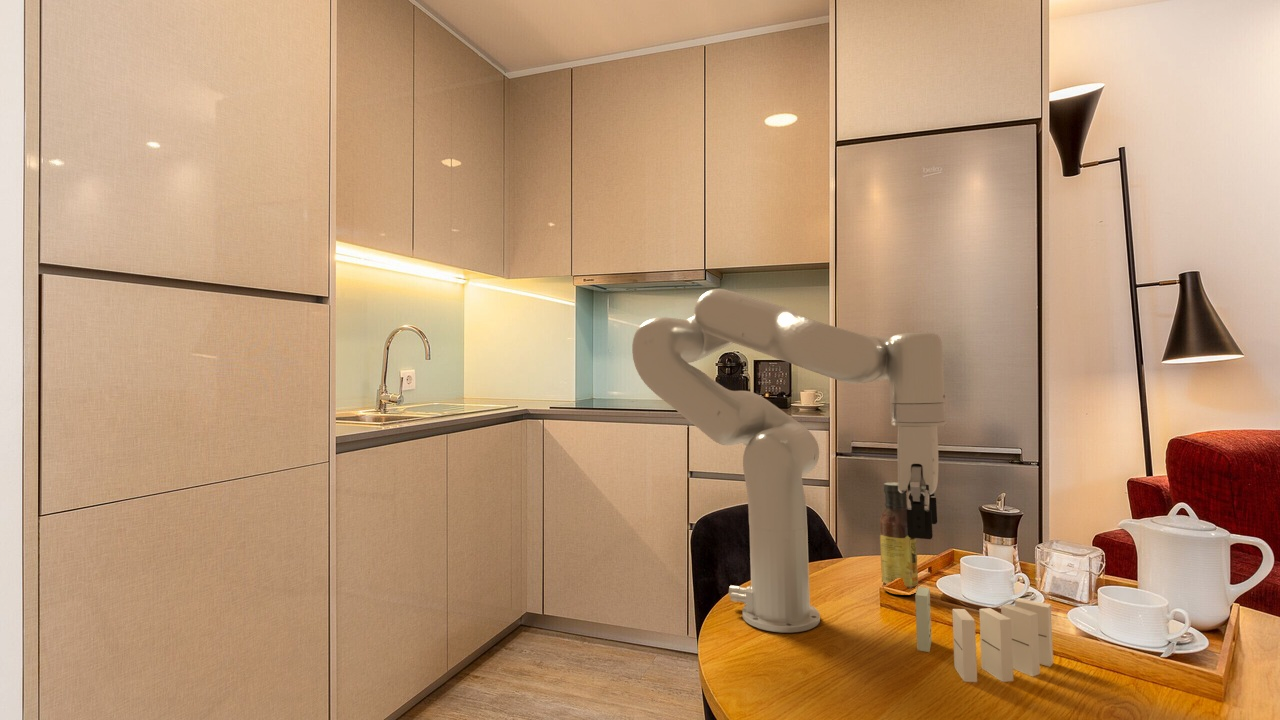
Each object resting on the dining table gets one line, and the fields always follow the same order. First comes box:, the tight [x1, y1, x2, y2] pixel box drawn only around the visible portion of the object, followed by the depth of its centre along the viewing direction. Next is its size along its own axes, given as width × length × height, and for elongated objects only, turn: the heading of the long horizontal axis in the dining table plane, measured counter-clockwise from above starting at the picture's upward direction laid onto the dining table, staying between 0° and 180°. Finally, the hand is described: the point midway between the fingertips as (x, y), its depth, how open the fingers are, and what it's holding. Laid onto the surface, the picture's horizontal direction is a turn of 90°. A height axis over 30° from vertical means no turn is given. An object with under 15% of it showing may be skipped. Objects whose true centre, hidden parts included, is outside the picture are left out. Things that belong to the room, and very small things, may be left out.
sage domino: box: [914, 586, 932, 653], centre depth 93 cm, size 2×4×8 cm, turn 151°
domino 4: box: [1014, 597, 1054, 668], centre depth 88 cm, size 2×4×8 cm, turn 45°
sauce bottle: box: [879, 481, 919, 589], centre depth 116 cm, size 6×6×20 cm
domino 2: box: [979, 607, 1014, 683], centre depth 84 cm, size 2×4×8 cm, turn 8°
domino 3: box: [1000, 603, 1041, 677], centre depth 85 cm, size 2×4×8 cm, turn 26°
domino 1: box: [952, 608, 978, 683], centre depth 84 cm, size 2×4×8 cm, turn 170°
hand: (923, 530), depth 93 cm, fingers open, 9 cm apart
